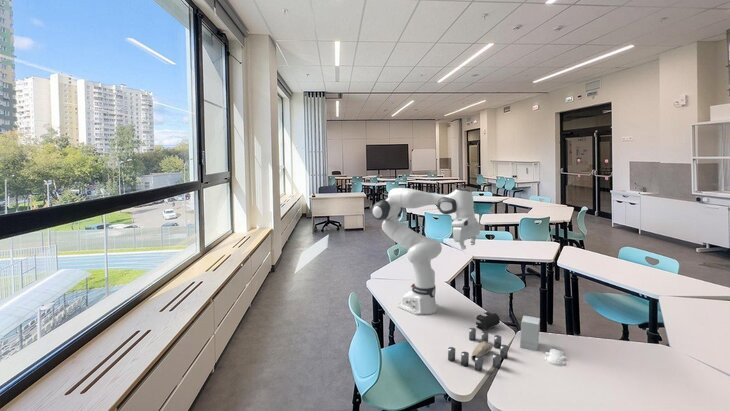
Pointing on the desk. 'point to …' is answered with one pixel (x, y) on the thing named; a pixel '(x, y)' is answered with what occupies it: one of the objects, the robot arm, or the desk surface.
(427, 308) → the robot arm
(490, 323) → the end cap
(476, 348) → the bone fragment
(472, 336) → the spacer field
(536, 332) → the supplement box
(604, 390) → the desk surface
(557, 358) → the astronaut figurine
